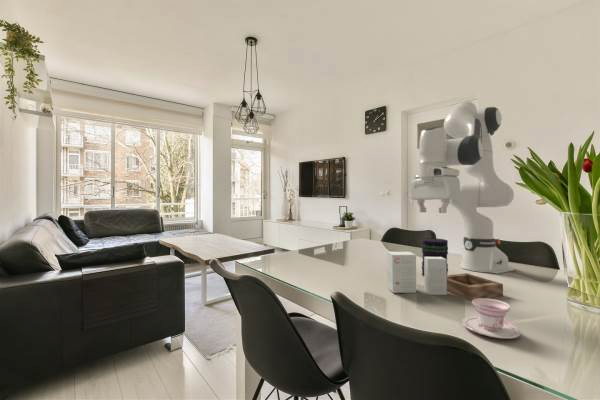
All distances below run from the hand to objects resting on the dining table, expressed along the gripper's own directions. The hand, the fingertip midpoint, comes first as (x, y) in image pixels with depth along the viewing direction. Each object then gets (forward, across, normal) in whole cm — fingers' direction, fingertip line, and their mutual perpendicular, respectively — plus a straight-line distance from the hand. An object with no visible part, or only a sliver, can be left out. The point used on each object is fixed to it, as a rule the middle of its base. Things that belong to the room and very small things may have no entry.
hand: (432, 212), depth 100 cm
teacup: (+28, +27, -7) cm, 40 cm away
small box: (+27, -4, -9) cm, 29 cm away
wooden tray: (+27, +4, +12) cm, 30 cm away
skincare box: (+27, +2, 0) cm, 27 cm away
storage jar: (+27, -16, +16) cm, 35 cm away
